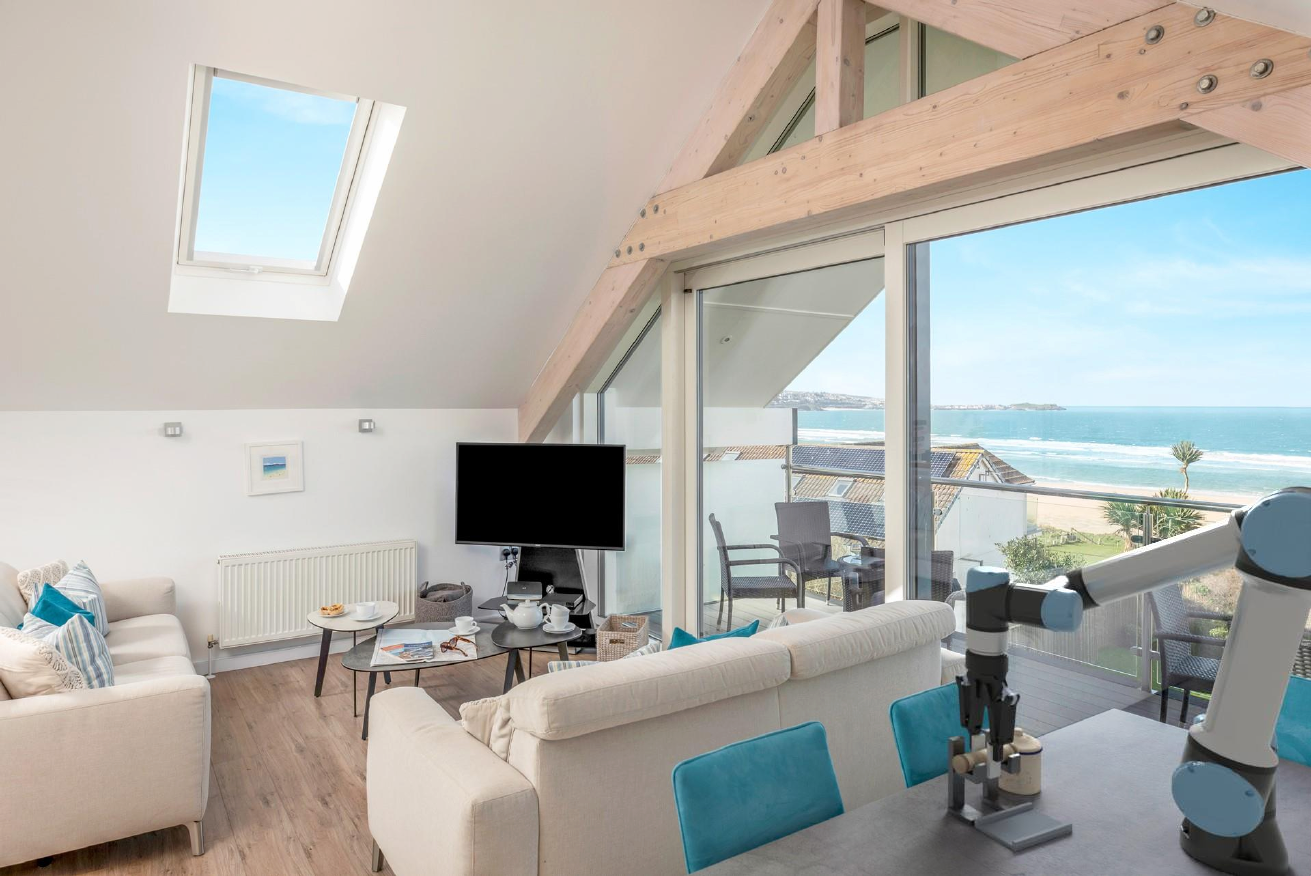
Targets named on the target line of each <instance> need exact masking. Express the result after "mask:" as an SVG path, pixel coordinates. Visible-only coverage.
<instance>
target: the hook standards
mask: <svg viewBox="0 0 1311 876" xmlns="http://www.w3.org/2000/svg"><path fill="white" fill-rule="evenodd" d="M983 730H984V731H983V732H982V733H983V734H985V748H987V743H988V742H989V741H991V738H990V729H989V727H988V728H983ZM947 741H948V743H947V745H948V747H947V749H948V751H947V752H948V753H947V757H948V760H947V762H948V763H947V776H948V777H947V813H948V814H949V815H951V816H954V818H957V819H958V820H960V821H962V822H963V823H965V824H966V825H968V826H970V827H972V826H975V819H977V818H980V817H983V816H986V815H987V814H985V813H983V812H981V811H979V810H977V809H975V808H974V807H972V806H970V805H969V804H966V802H965V800H966V798H965V794H966V792H965V791H966V789H965V788H966V787H965V786H966V785H965V784H966V780H967V781H969V782H971V783H973V784H975V785H979V784H982V797H981V799H982V803H983V804H985V805H986V806H989V807H990V808H992V809H995V810H997V812H999V811H1002V810H1006V809H1009V808H1012V807H1015V806H1018V805H1021V804H1020V803H1018V802H1016V801H1015V800H1012V799H1010V798H1008V797H1006V796H1005V795H1003V794H1001V793H999V791H1000V790H999V789H1000V787H999V777H995V778H991V779H989V778H987V766H986V764H984V763H980V764H976V765H973V770H972V771H968V772H964V773H958V772H957V771H956V770H955V769H954V767H953V763H952V760H953V758H954V757H955V756H956V755H960V754H966V737H964V736H962V735H956V736H953V737H949V738H948V740H947ZM1001 769H1002V770H1004V771H1006V772H1008V773H1010V774H1014V773H1018V772H1021V755H1019V754H1013V755H1010V756H1008V761H1005V762H1001Z"/></svg>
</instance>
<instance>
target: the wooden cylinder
mask: <svg viewBox="0 0 1311 876" xmlns="http://www.w3.org/2000/svg"><path fill="white" fill-rule="evenodd" d="M1013 754H1019V750H1018V748H1017V746H1016V745H1015V744H1014V743H1010V744H1006V745H1004V746H1003V761H1001V762H1005V761H1008V756H1010V755H1013ZM952 763H953V767H954V769H955V770H956V771H957V772H958V773H964V772H968V771H972V770H973V765H976V764H980V763H984V764H986V766H987V748H985V749H981V750H978V751H974V752H972V751H971V752H965V754H960V755H956V756H955V757H954V758H953V760H952Z"/></svg>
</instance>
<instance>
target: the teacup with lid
mask: <svg viewBox="0 0 1311 876" xmlns="http://www.w3.org/2000/svg"><path fill="white" fill-rule="evenodd" d="M1013 743H1014V744H1015V745H1016V746H1017V748H1018V750H1019V755H1021V772H1018V773H1014V774H1010V773H1008V772H1006V771H1004V770H1002V769H1001V776H999V789H1001V790H1003V791H1006V792H1008V793H1010V794H1015V795H1021V796H1028V795H1029V796H1030V795H1035V794H1038V793H1039V792H1040V791H1041V790H1042V751H1043V749H1044V748H1043V744H1042V743H1041V742H1040V740H1038V739H1037V738H1035V737H1033V736H1031V735H1029V734H1026V733H1025V732H1024V730H1023V729H1022V728H1021V727H1015V729H1014V740H1013Z"/></svg>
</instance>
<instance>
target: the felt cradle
mask: <svg viewBox="0 0 1311 876" xmlns="http://www.w3.org/2000/svg"><path fill="white" fill-rule="evenodd" d="M985 815H986V816H983V817H980V818H977V819H975V825H974V828H976V829H977V830H978V831H980V832H982V833H984V834H985V835H987V836H989V838H992V839H994V840H996V841H997V842H999V843H1000V844H1002V845H1004V846H1006V847H1007V848H1008V849H1011V850H1012V851H1015V852H1018V851H1021V850H1023V849H1026V848H1029V847H1033V846H1035V845H1037V844H1041V843H1044V842H1047V841H1050V840H1053V839H1055V838H1058V837H1061V836H1064V835H1068V834H1069V833H1072V832H1073V823H1072V822H1070V821H1068V822H1064V823H1063V822H1061V821H1059V820H1057V819H1055V818H1053V817H1051V816H1049V815H1047V814H1046V813H1043V812H1041V811H1040V810H1037V809H1036V808H1034V803H1033V802H1031V801H1028V802H1025V803H1021V804H1020V805H1018V806H1015V807H1012V808H1009V809H1006V810H1002V811H997V812H993V813H991V814H985Z"/></svg>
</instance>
